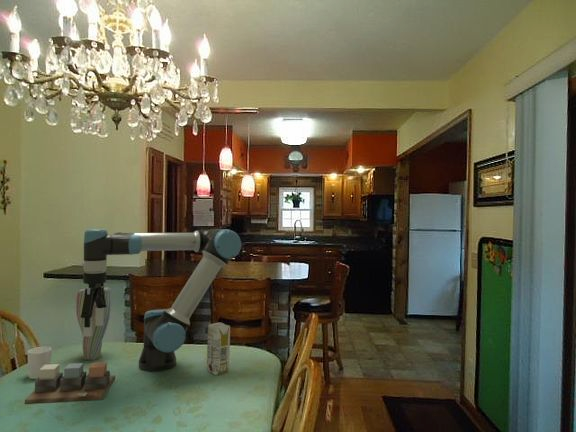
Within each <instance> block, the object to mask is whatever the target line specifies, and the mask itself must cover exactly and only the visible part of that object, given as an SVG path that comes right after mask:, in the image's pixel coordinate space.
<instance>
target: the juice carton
mask: <svg viewBox="0 0 576 432" xmlns="http://www.w3.org/2000/svg"><path fill="white" fill-rule="evenodd" d="M230 347H231V325H228V324H225V323H223V322H213V323H208V327H207V348H206V349H207V351H206V352H207V353H206V370H207V371H208V372H210V373H212V375H215V376H218V375H222V374H223V375H224V374H226V373H229V372H230V369H229V368H230V352H231V351H230Z"/></svg>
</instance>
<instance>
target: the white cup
mask: <svg viewBox="0 0 576 432" xmlns="http://www.w3.org/2000/svg"><path fill="white" fill-rule="evenodd" d="M51 358H52V347H50V346H39V347H38V346H37V347H33V348H31V349H28V350H27V371H28V378H29V379H30V380H36V379H37V378H38V377H39V369H41V368H42V367H43V366H44V365H47V364H51V362H52V361H51V360H52V359H51Z"/></svg>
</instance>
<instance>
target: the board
mask: <svg viewBox="0 0 576 432" xmlns="http://www.w3.org/2000/svg"><path fill="white" fill-rule="evenodd" d="M110 372H111V370H107V373H106V375H105V376H104V377H93V378H89V373H88V374H87V371H83V374H82V376H81V377H80V378H69V379H64V371H63V372H59V375H58V376H57V377H56V378H55V379H45V380H39V377H38V378H37V379H34V390H33V391H32V392H31V393H30V394H29V395H28V396H27V397H26V398H25V399H24V404H37V403H38V404H39V403H40V404H41V403H57V402H58V403H59V402H60V403H61V402H78V401H79V402H80V401H82V402H83V401H97V400H98V401H99V400H103V399H104V398H105V396H106V395H107V392H108V391H109V389H110V388H111V386H112V384H113V382H114V381H115V379H116V375H114V374H113V375H110V374H111V373H110Z"/></svg>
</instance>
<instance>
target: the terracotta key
mask: <svg viewBox="0 0 576 432" xmlns="http://www.w3.org/2000/svg"><path fill="white" fill-rule="evenodd" d="M107 367H108V362H106V361H105V362H104V361H102V362H92V364H91V365H90V366H89V367H88V374H89V378H93V377H104V376H105V375H106V373H107V371H108V370H107V369H108V368H107Z"/></svg>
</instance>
